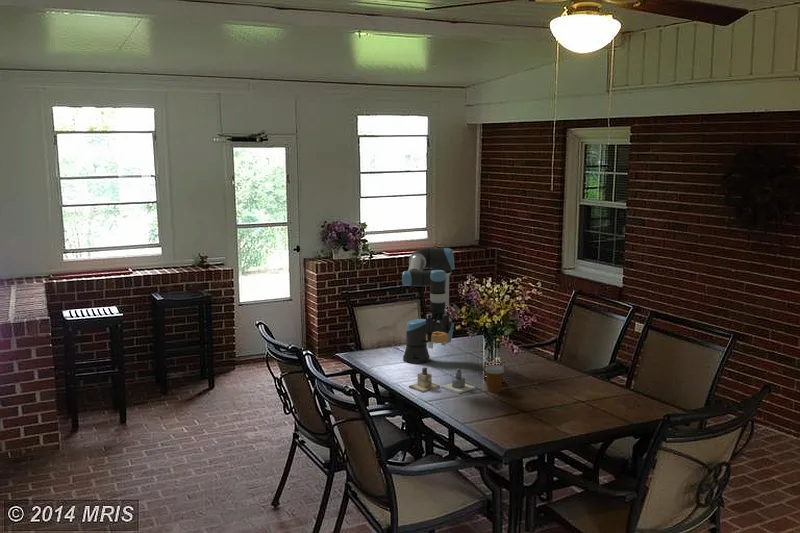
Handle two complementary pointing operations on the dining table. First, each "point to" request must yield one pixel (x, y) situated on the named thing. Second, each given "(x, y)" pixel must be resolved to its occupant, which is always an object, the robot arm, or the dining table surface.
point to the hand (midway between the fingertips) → (437, 346)
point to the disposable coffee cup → (494, 377)
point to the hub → (458, 384)
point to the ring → (439, 337)
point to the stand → (424, 382)
